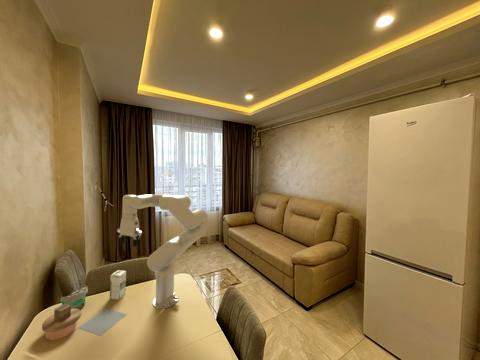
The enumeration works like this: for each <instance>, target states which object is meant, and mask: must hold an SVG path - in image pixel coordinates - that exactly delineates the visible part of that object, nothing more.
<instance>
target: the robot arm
mask: <svg viewBox="0 0 480 360" xmlns="http://www.w3.org/2000/svg"><path fill="white" fill-rule="evenodd" d="M191 205H192V200H191V199H190V197H189V196H187V195H179V194H177V195H176V194H175V195H174V194H173V195H172V194H140V195H136V194H125V195H123V197H122V210H121V211H122V214H121V219H120V225H119V228H117V229H116V232H117V235H118V238H119V245H123V244H125V243H126V236H127V237H132V238H133V240H132V246H133V247H134V248H135V247H138V246H139V239H140V238H141V237H142V235H143V231H142V230H140V222H139V218H138V210H140V209H141V210H142V209H145V208H149V207H155V208H159V209H160V210H162V211H169V212H170V214H171V215H172V216H173V217H174V218H175V219H176V220H177V222H179V223H180V224H181V225H182V226H183V227H184V228H185V230H184V231H181V233H180V234H178V235H177V236H175V237H172V238H171V239H169V240H168V241H167V240H166V242H165V243H163V244H162V245H160V246H159V247H158V248H157V249H156V250H155V251H153V252H152V253H151V254H150V255H149V256H148V258H147V261H146V266H147V268H148V269H149V270H150V271H152V272H156V275H155V297H154V299H153V300H152V306H153V308H155V309H161V310H164V309H168V308H170V307H173V305H175V304H176V305H177V304H179V302H180V301H179V298H180V297H179V296H176V292H175V290H174V287H175V286H174V285H175V265H176V259H177V258H178V257H179V256H180V255H182V254H183V253H184V252H185V251H186V250H187V249H188V248H189V247H190V246H192V245H194V243H195V242H196V241H198V240H199V239H200V238H201V237H202V236H203V235H204V234H205V232H206V231H207V228H208V227H209V217H208V212H206V211H205V210H203V209H195V210H191V209H190V207H191Z"/></svg>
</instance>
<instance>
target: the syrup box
mask: <svg viewBox="0 0 480 360" xmlns="http://www.w3.org/2000/svg"><path fill="white" fill-rule="evenodd" d="M126 282H127V271H126V270H120V269H118V270H116V271H115V272H113V273H112V274H110V283H109V300H120V299H121V298H122V297H124V296H125V295H126V287H127V286H126V284H127V283H126Z"/></svg>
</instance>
